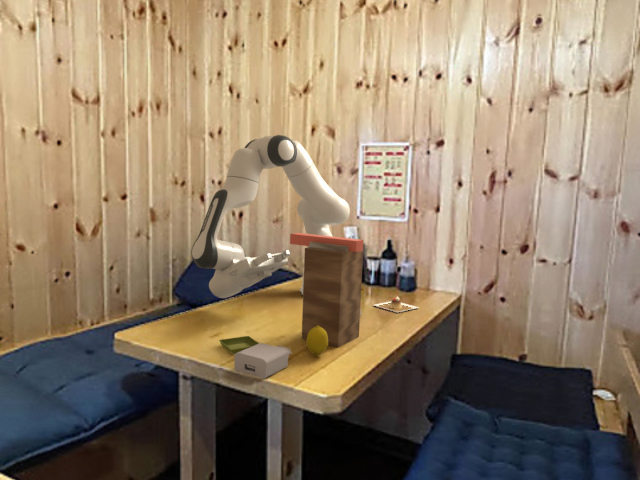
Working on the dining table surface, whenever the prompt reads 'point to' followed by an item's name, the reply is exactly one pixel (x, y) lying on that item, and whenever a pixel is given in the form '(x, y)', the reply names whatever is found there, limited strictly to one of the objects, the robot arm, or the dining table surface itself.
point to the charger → (262, 360)
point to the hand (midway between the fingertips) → (279, 253)
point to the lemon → (317, 340)
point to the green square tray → (238, 343)
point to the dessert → (396, 305)
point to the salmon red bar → (326, 241)
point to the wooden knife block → (332, 292)
